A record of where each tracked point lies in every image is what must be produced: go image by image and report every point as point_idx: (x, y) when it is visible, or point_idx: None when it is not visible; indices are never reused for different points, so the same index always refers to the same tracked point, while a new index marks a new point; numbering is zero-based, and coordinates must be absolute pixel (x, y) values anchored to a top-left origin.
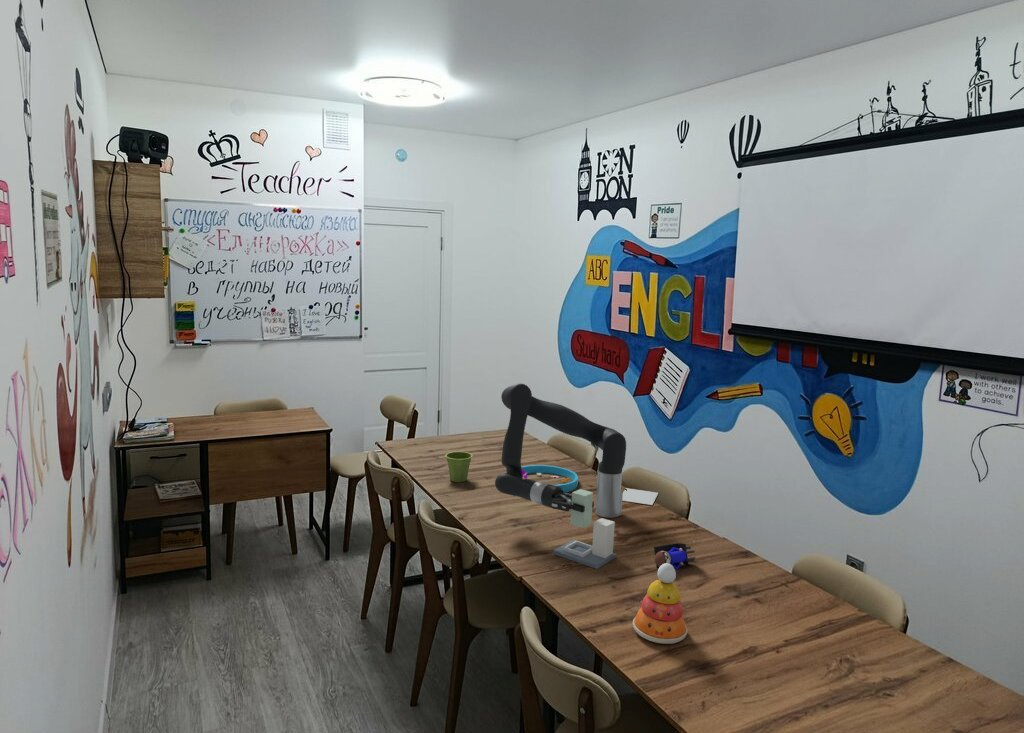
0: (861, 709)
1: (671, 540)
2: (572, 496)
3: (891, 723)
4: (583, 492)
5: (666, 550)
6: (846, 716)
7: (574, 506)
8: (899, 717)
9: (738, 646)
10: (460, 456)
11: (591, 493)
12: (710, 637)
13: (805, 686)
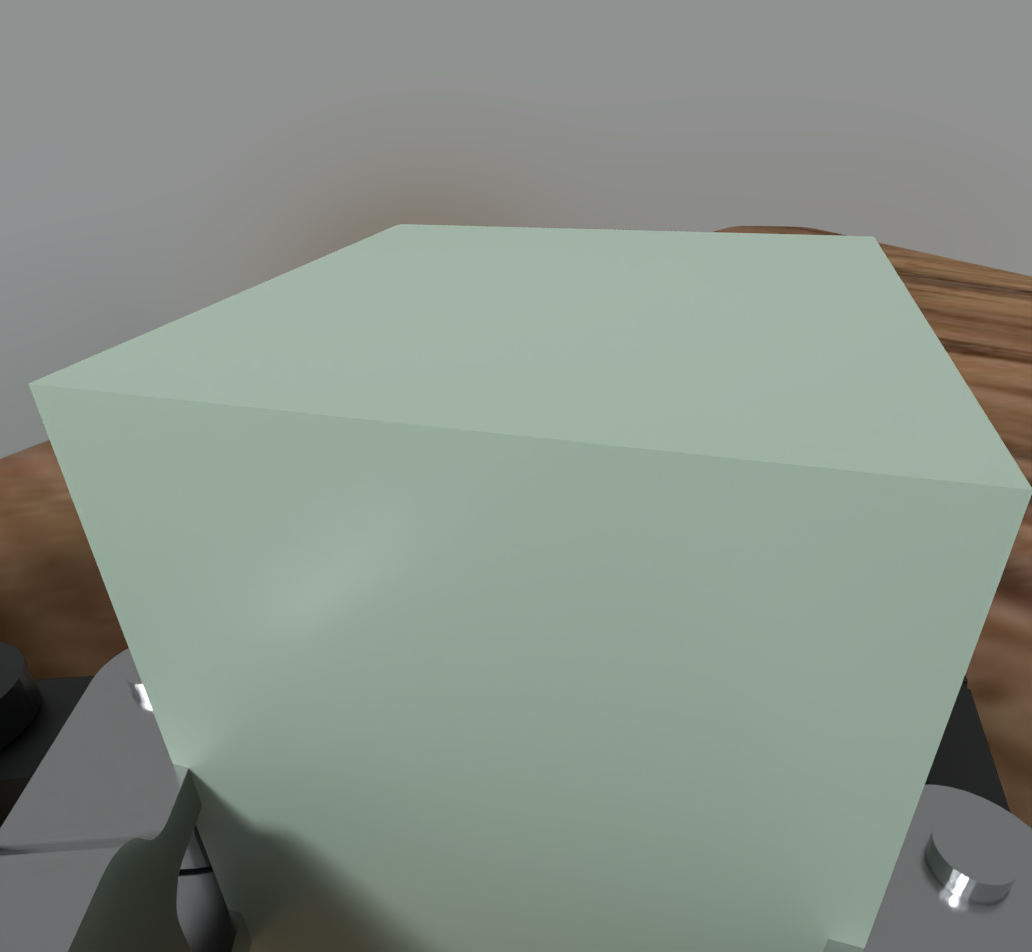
0: (973, 275)
1: (56, 563)
2: (933, 695)
3: (970, 263)
4: (541, 282)
5: None
6: (1026, 281)
7: (984, 797)
8: (937, 260)
9: (964, 360)
10: None
11: (486, 232)
12: (995, 393)
13: (994, 304)
